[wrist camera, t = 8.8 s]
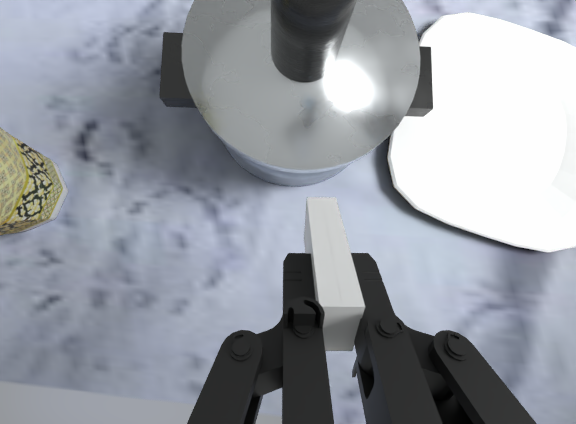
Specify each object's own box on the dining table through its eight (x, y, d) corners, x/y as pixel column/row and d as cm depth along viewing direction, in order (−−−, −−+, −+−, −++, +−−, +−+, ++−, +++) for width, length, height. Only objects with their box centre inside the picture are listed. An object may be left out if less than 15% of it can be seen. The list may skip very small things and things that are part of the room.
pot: (394, 42, 29) (433, -21, 22) (397, 189, 27) (441, 171, 20) (190, 31, 28) (163, -39, 21) (183, 183, 26) (150, 163, 19)
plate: (573, 269, 28) (593, 271, 26) (365, 201, 27) (371, 198, 26) (613, 72, 30) (633, 62, 29) (421, 6, 30) (430, -9, 28)
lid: (408, -33, 21) (532, -277, 11) (414, 176, 20) (565, 110, 10) (192, -48, 21) (115, -329, 10) (180, 170, 19) (76, 89, 9)
